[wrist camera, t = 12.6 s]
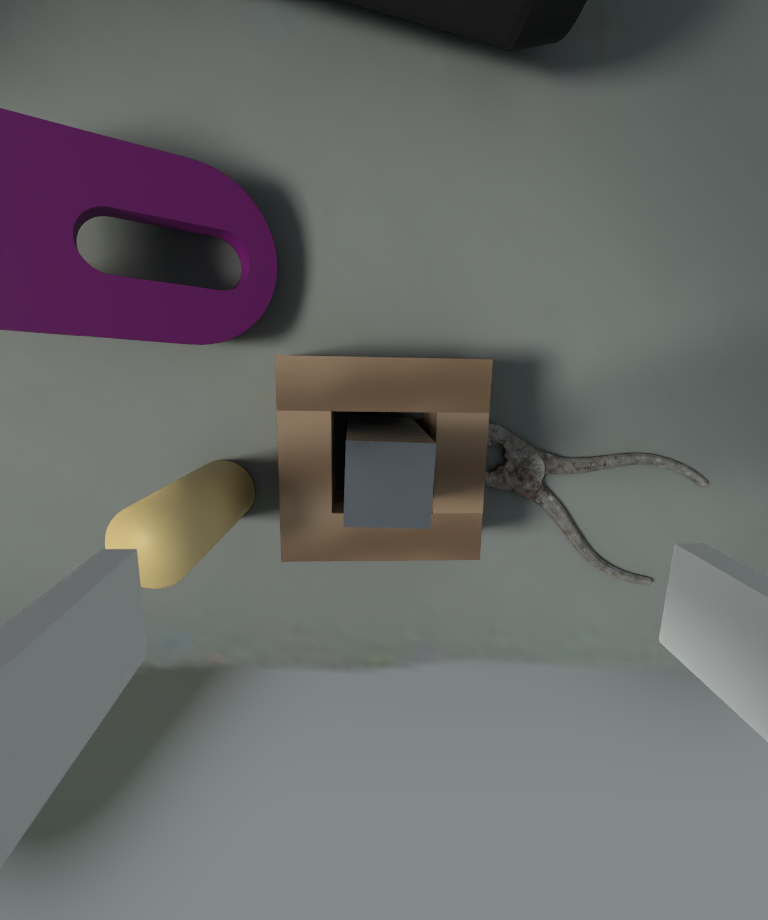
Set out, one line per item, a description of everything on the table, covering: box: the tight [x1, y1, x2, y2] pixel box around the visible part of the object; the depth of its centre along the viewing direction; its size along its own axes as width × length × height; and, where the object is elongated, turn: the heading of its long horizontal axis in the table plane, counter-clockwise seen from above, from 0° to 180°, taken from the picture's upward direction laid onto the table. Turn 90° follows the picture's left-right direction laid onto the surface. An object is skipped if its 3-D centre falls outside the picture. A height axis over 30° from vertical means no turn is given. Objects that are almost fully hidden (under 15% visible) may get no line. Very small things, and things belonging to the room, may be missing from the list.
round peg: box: [105, 460, 255, 589], centre depth 26 cm, size 4×4×10 cm
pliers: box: [485, 423, 708, 585], centre depth 33 cm, size 10×1×20 cm
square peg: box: [343, 415, 436, 529], centre depth 27 cm, size 4×4×10 cm
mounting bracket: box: [0, 108, 277, 345], centre depth 26 cm, size 9×8×18 cm
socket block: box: [275, 355, 493, 562], centre depth 29 cm, size 12×12×5 cm
